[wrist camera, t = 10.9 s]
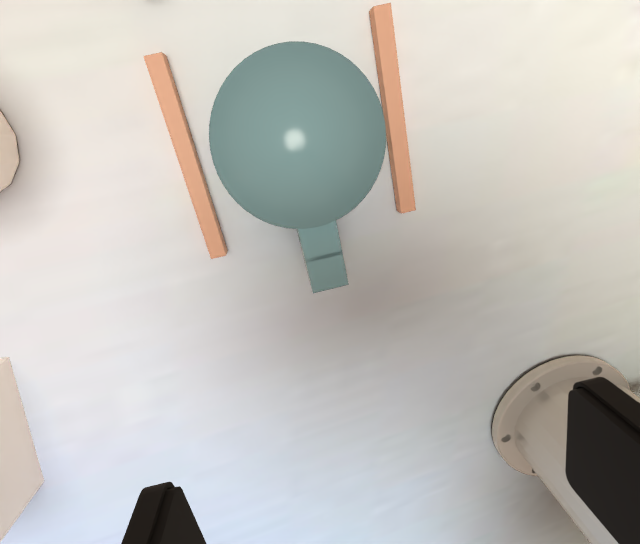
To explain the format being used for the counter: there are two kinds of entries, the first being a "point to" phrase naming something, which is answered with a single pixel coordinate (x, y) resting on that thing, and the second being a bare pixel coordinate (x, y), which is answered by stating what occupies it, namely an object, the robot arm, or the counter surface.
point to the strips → (391, 112)
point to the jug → (299, 145)
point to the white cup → (7, 153)
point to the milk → (15, 453)
